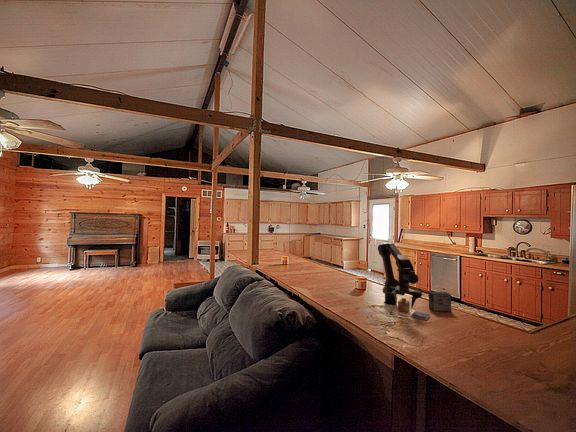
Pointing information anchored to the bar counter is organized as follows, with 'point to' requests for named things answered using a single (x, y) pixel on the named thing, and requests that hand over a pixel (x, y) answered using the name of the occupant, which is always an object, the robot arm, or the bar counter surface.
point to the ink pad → (420, 315)
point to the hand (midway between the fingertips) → (403, 306)
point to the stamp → (403, 305)
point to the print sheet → (403, 313)
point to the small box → (440, 301)
